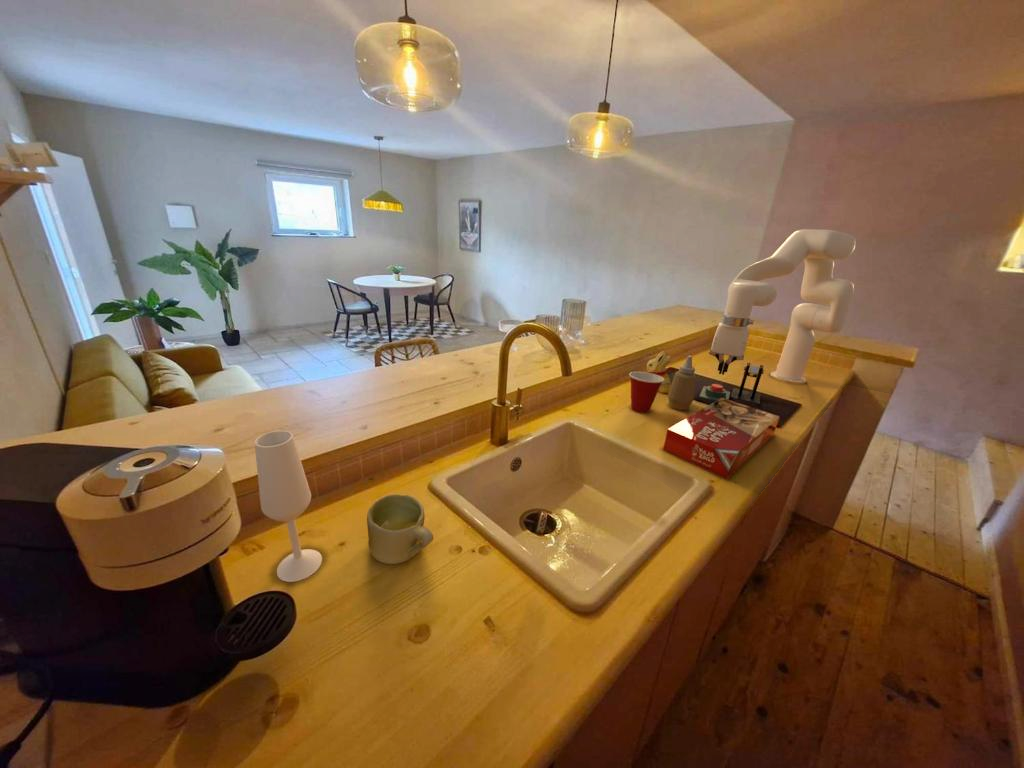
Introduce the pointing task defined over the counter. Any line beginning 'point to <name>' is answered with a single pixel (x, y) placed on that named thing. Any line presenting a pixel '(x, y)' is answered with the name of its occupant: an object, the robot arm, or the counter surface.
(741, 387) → the bracket
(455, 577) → the counter surface
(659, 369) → the chocolate bunny
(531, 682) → the counter surface
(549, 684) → the counter surface
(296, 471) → the champagne flute
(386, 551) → the mug
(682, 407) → the squeeze bottle
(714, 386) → the button
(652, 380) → the plastic cup
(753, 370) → the lever
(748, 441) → the food box
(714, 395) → the button housing
